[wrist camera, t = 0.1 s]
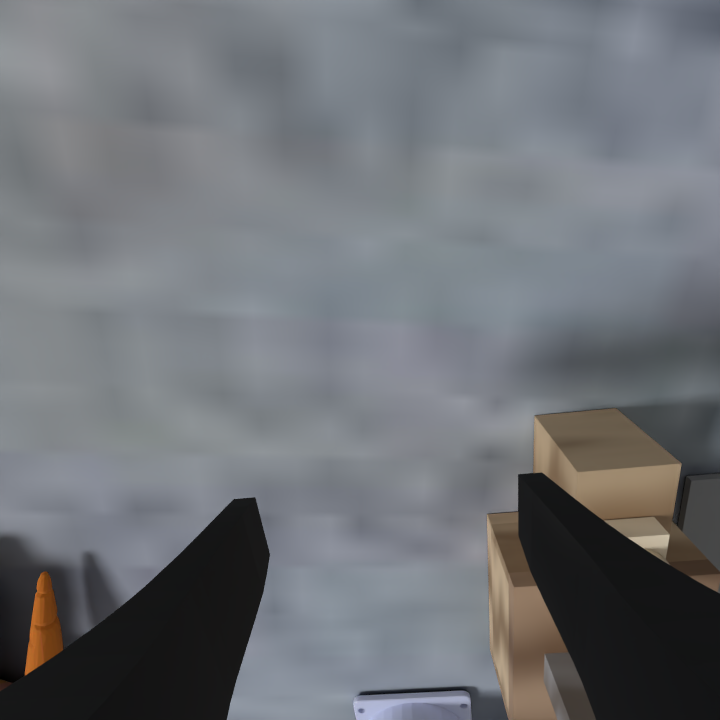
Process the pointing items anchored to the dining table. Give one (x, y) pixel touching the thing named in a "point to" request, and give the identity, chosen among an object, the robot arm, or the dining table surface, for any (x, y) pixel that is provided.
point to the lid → (555, 652)
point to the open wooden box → (585, 498)
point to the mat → (702, 515)
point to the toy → (42, 628)
